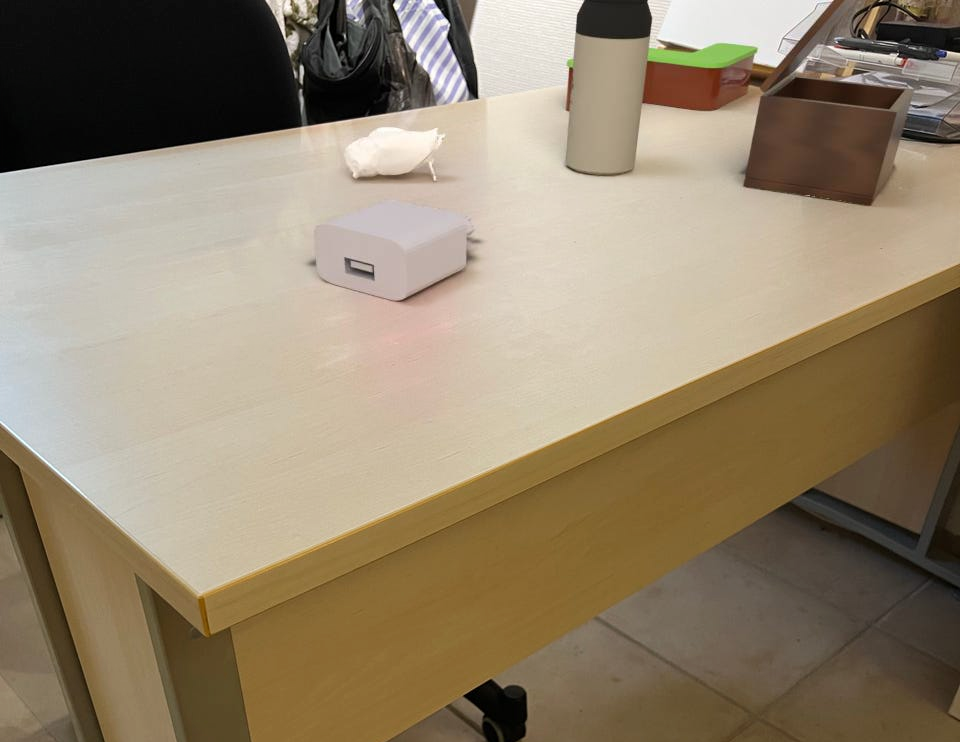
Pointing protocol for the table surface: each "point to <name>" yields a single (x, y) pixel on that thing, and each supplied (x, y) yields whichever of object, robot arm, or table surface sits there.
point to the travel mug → (607, 85)
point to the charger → (392, 248)
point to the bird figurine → (392, 152)
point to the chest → (827, 138)
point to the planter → (694, 76)
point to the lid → (807, 42)
